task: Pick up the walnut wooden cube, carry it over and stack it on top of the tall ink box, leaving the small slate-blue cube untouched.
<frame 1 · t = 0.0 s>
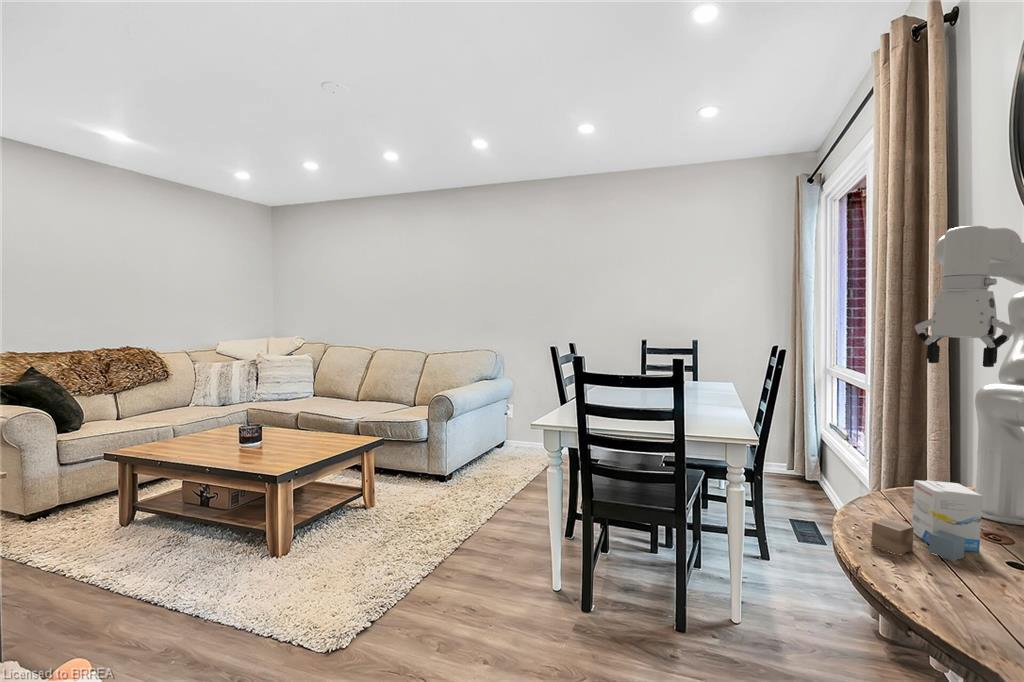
hand: (959, 364, 112), 37 cm above the table, tool pointing down, fingers open, 9 cm apart
slate block: (946, 555, 102), on the table
ink box: (944, 542, 109), on the table
walnut block: (891, 548, 105), on the table
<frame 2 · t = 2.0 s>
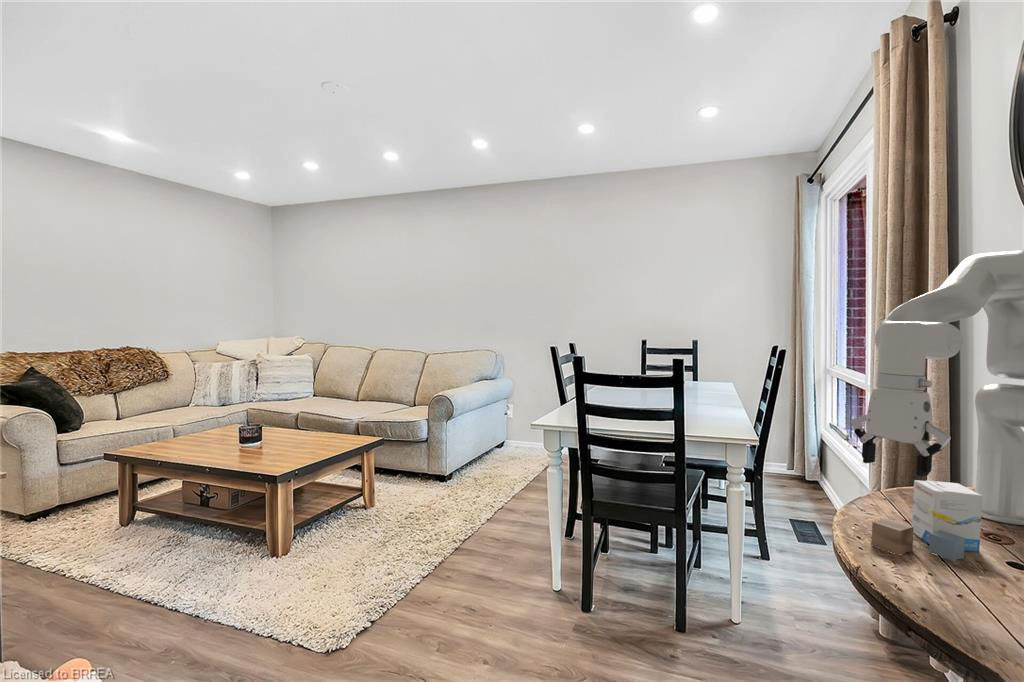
hand: (894, 468, 104), 16 cm above the table, tool pointing down, fingers open, 9 cm apart
nothing on the table moved.
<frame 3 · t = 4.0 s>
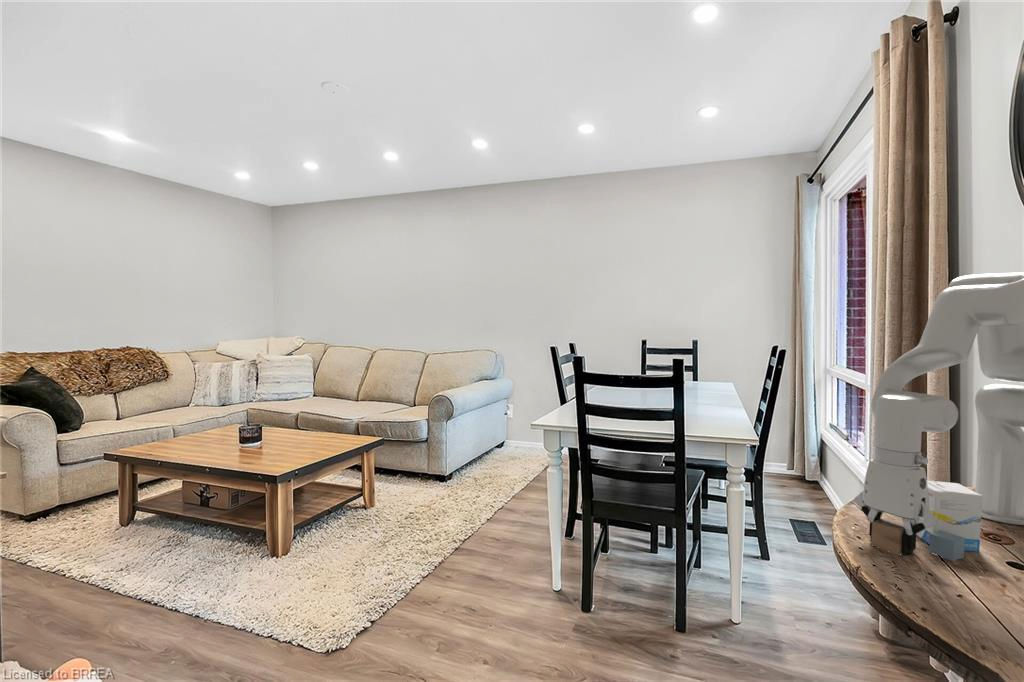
hand: (891, 545, 105), 0 cm above the table, tool pointing down, fingers closed on walnut block, 4 cm apart
walnut block: (891, 548, 105), on the table, touching gripper
everything else where it was.
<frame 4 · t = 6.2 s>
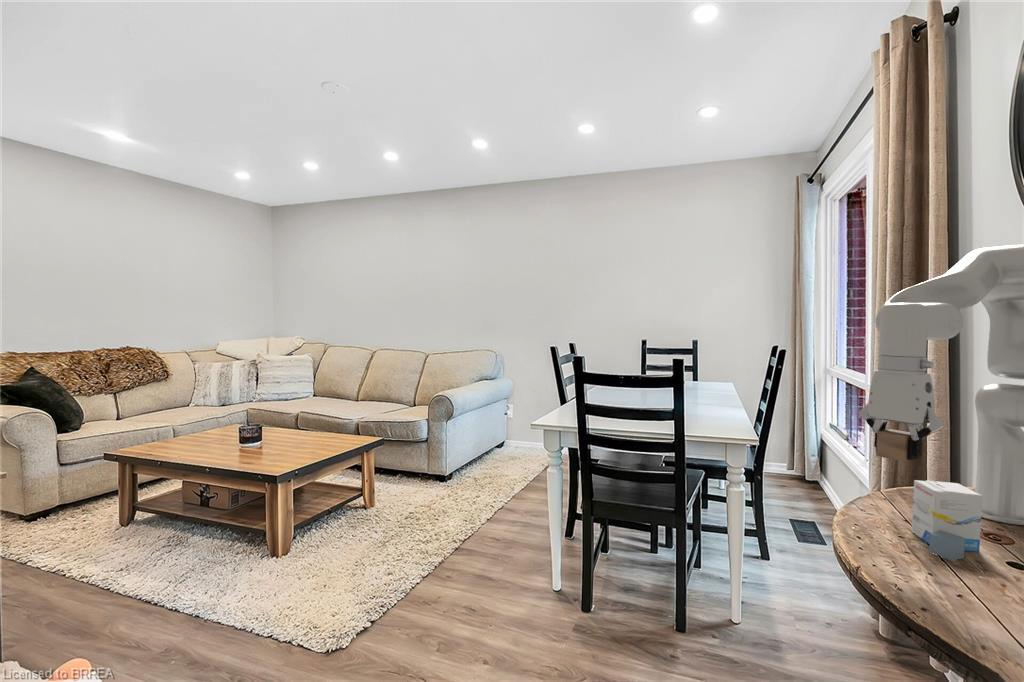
hand: (896, 454, 104), 19 cm above the table, tool pointing down, fingers closed on walnut block, 4 cm apart
walnut block: (896, 457, 104), point 18 cm above the table, touching gripper
everything else where it was.
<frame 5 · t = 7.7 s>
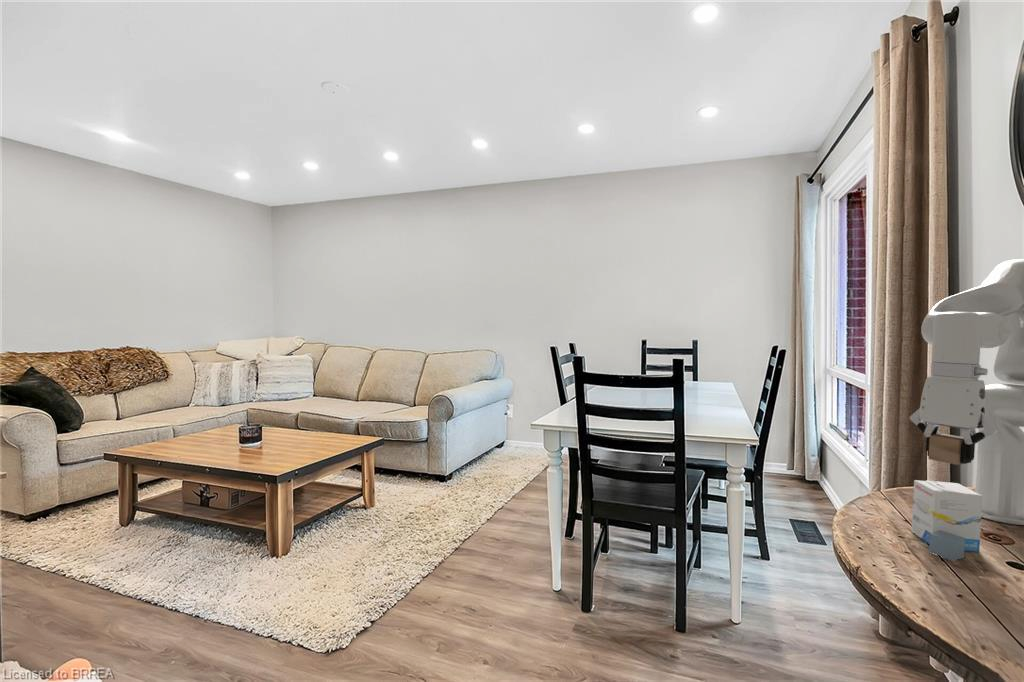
hand: (948, 458, 108), 18 cm above the table, tool pointing down, fingers closed on walnut block, 4 cm apart
walnut block: (948, 460, 108), point 17 cm above the table, touching gripper
everything else where it was.
when the fingers open (14 cm above the table, at t = 8.6 s): walnut block drops 2 cm, resting on ink box.
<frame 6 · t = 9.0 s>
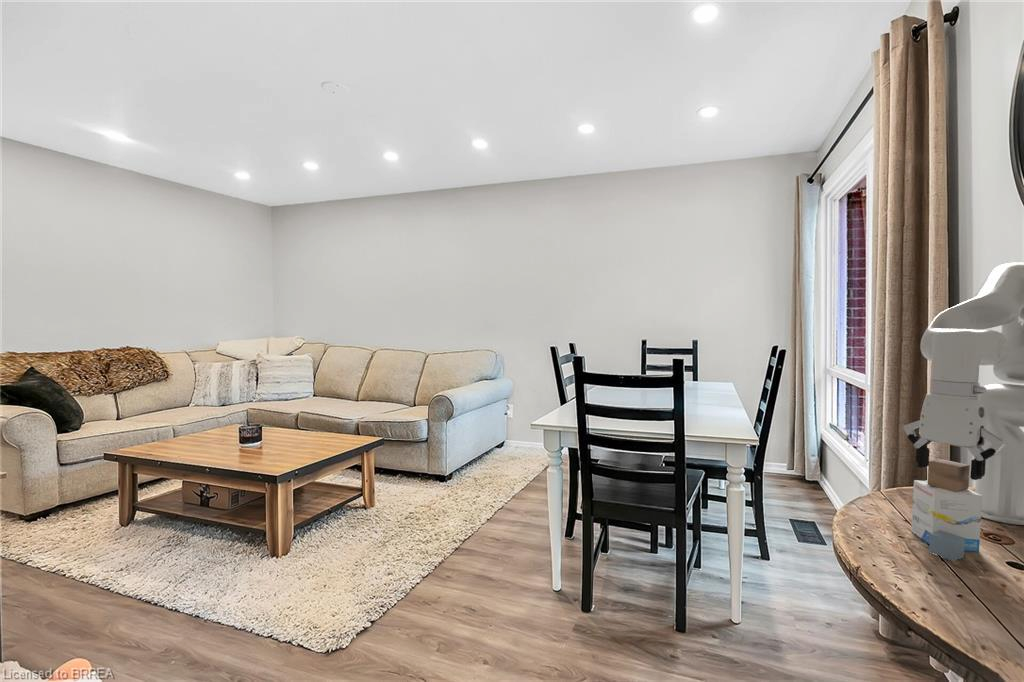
hand: (948, 472, 108), 15 cm above the table, tool pointing down, fingers open, 8 cm apart
ink box: (943, 542, 109), on the table, touching walnut block
walnut block: (947, 486, 108), point 12 cm above the table, touching ink box
everything else where it was.
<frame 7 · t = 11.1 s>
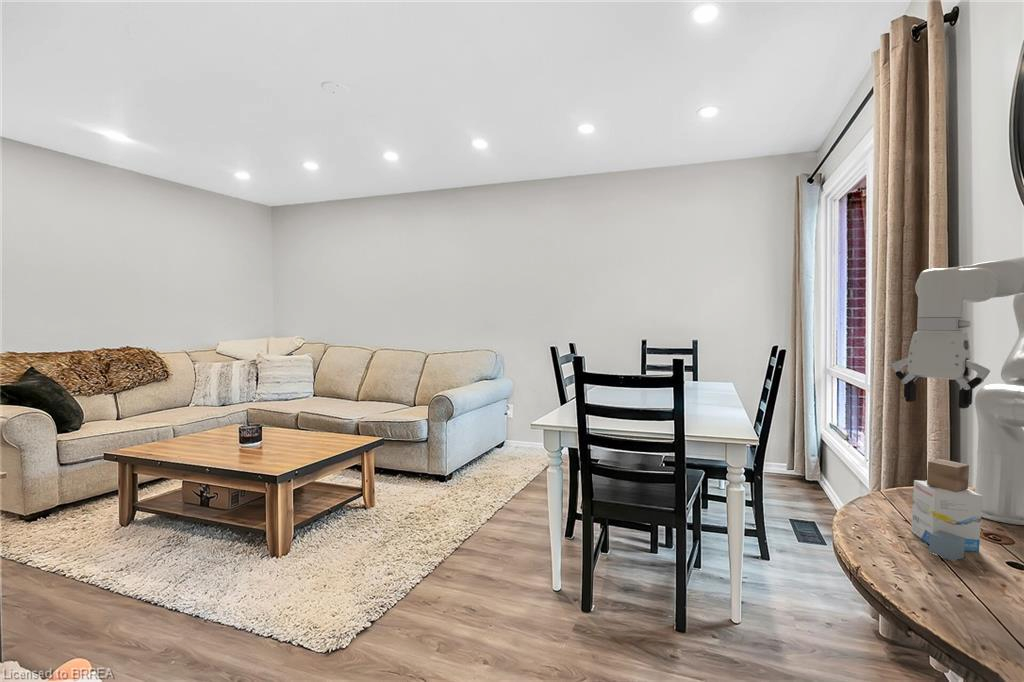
hand: (936, 404, 114), 28 cm above the table, tool pointing down, fingers open, 9 cm apart
nothing on the table moved.
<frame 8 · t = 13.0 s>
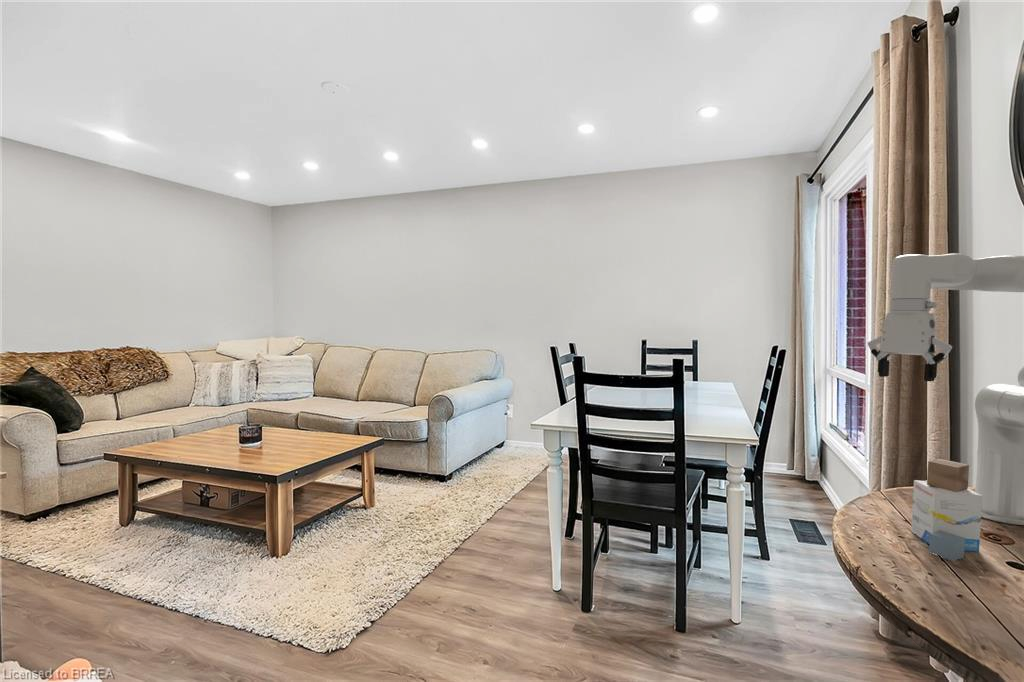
hand: (905, 378, 125), 32 cm above the table, tool pointing down, fingers open, 9 cm apart
nothing on the table moved.
at the end: walnut block 0.3 cm off-centre on the ink box, point 11.9 cm above the ink box's base; walnut block tilted 0°; slate block moved 0.6 cm from its start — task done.
